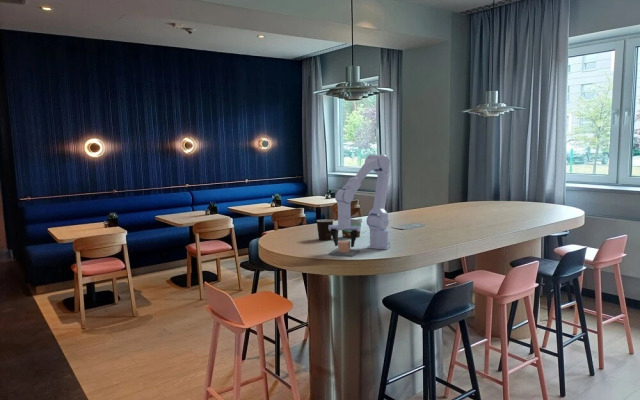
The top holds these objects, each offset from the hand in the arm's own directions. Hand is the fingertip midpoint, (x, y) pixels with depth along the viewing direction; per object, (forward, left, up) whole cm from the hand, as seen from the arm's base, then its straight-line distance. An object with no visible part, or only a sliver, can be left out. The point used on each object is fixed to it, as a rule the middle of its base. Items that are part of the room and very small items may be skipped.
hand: (344, 246), depth 212 cm
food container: (+8, -38, -3) cm, 39 cm away
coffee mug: (+19, -29, -3) cm, 35 cm away
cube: (0, 0, -2) cm, 2 cm away
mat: (0, 0, -3) cm, 3 cm away
